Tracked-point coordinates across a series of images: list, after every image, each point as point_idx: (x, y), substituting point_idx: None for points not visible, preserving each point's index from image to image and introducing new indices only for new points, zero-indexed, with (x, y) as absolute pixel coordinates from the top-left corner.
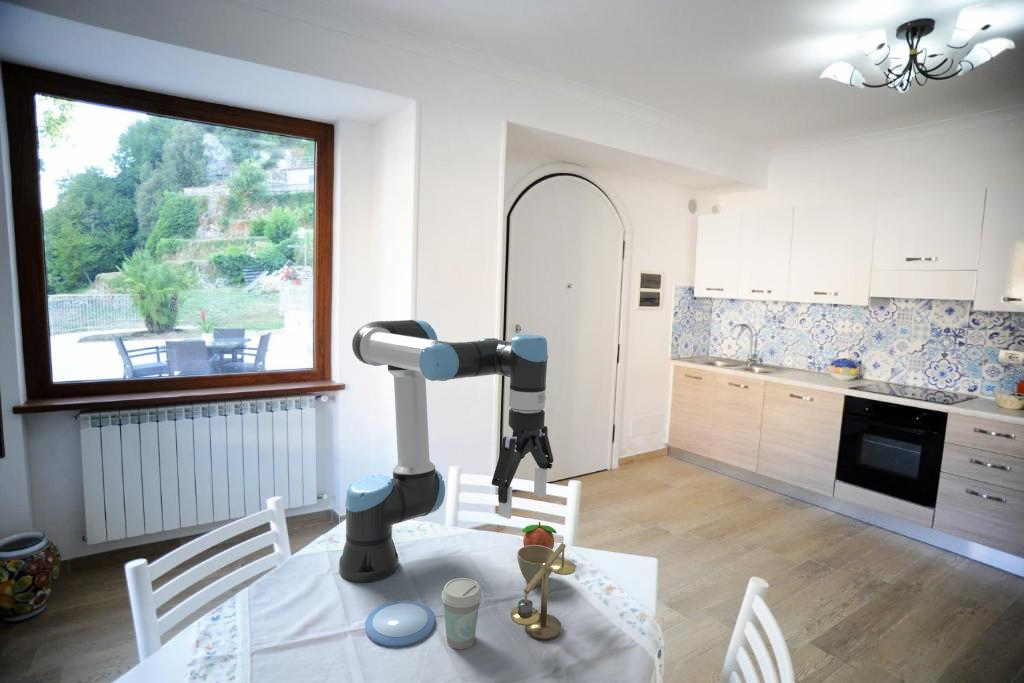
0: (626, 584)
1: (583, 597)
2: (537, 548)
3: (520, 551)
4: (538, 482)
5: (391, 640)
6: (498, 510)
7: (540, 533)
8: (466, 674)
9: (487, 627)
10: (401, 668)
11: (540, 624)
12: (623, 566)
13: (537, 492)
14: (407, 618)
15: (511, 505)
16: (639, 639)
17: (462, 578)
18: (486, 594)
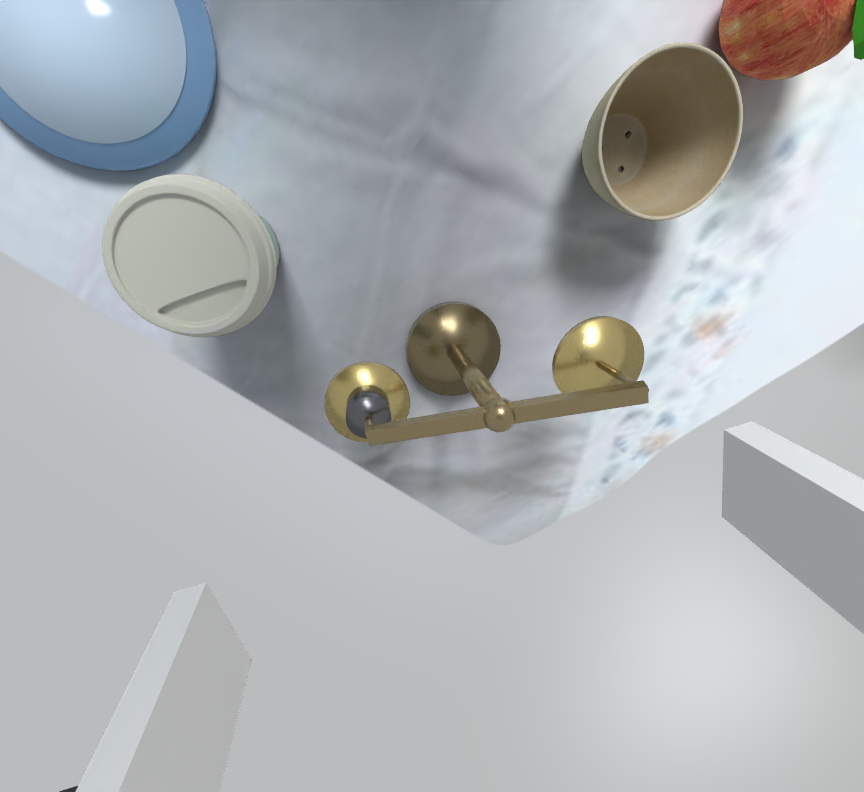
0: (754, 340)
1: (632, 313)
2: (722, 83)
3: (656, 55)
4: (851, 552)
5: (16, 122)
6: (157, 628)
7: (819, 14)
8: (190, 364)
9: (338, 250)
10: (30, 244)
11: (447, 350)
12: (835, 275)
13: (750, 481)
14: (107, 46)
15: (218, 779)
16: (581, 488)
17: (217, 207)
18: (439, 102)
